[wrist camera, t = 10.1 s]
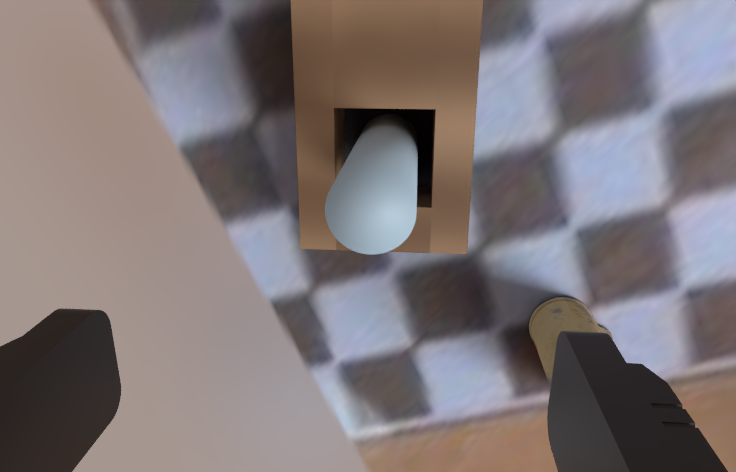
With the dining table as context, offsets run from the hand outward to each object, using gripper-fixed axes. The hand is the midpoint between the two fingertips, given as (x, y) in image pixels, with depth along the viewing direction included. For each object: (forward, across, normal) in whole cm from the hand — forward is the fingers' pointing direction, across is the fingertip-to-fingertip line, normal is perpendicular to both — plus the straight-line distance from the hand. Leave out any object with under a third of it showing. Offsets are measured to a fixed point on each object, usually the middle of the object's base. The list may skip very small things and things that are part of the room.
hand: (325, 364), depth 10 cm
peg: (+21, 0, 0) cm, 21 cm away
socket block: (+21, 0, -4) cm, 22 cm away
